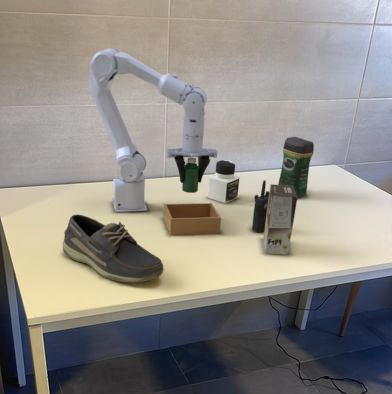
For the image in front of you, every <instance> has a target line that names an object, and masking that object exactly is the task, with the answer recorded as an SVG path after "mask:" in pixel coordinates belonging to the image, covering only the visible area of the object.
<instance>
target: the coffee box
mask: <svg viewBox="0 0 392 394" xmlns="http://www.w3.org/2000/svg"><path fill="white" fill-rule="evenodd" d="M298 199H299V198H298V197H297V194H296V191H295V189H294V186H291V185H278V184H272V183H271V184H270V185H269V200H268V207H267V215H266V222H265V230H264V231H263V238H262V242H263V249H264V253H265V254H270V255H272V254H273V255H284V256H285V255H286V256H287V255H288V254H289V251H290V245H291V244H290V243H291V239H292V234H293V228H294V227H293V226H294V221H295V216H296V215H295V214H296V209H297V203H298Z"/></svg>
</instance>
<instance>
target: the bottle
mask: <svg viewBox="0 0 392 394" xmlns="http://www.w3.org/2000/svg"><path fill="white" fill-rule="evenodd" d="M196 162H197V157H187V162H185V167H184V183H181V185H182V186H181V191H183V192H184V193H188V194H195V193H197V192H198V191H199V182H198V179H199V166H198V163H196Z"/></svg>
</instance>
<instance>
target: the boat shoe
mask: <svg viewBox="0 0 392 394" xmlns="http://www.w3.org/2000/svg"><path fill="white" fill-rule="evenodd" d="M125 227H126V225H125V224H122V222H121V221H119V222H118V223H115V222H111V223H107V224H104V223H102V222H99V221H98V220H97V219H94V218H91V217H89V216H87V215H83V214H72V215H71V216H70V218H69V219H68V223H67V227H66V229H65V230H64V233H63V234H64V238H63V241H62V251H63V253H64V254H65V256H66V257H68V258H70V259H71V260H74V261H76V262H79V263H83V264H86V265H88V266H89V267H90V268H92V270H94V271H95V272H96V273H98V274H99V275H101V276H102V277H103V278H106V279H109V280H112V281H116V282H121V283H143V282H147V281H151V280H153V279H156V278H158V277H160V276H162V274H163V273H164V264H163V262H162V259H161V258H160V257H158V256H156V255H155V254H153V253H151V252H150V251H149V250H147V249H145V248H144V247H143V246H141V245H140V244H138V242H137V240H136V239H135V238H134V237H133V235H131V234H130V233H129V230H128V229H126V228H125Z"/></svg>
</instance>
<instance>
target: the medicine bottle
mask: <svg viewBox="0 0 392 394" xmlns="http://www.w3.org/2000/svg"><path fill="white" fill-rule="evenodd" d="M235 172H236V163H235V162H234V161H232V160H227V159H224V160H219V161H217V162H216V163H215V172H214V173H215V174H214V175H210V176H209V177H208V188H207V189H208V191H207V198H208V199H209V200H212V201H216V202H220V203H223V204H228V203H230V202H232V201H234V200H236V199H238V196H239V188H240V187H239V186H240V180H241V179H240V176H236V175H235Z"/></svg>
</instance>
